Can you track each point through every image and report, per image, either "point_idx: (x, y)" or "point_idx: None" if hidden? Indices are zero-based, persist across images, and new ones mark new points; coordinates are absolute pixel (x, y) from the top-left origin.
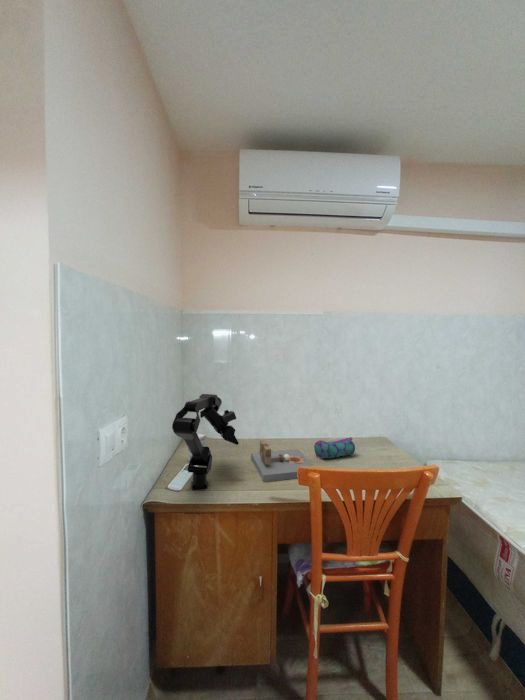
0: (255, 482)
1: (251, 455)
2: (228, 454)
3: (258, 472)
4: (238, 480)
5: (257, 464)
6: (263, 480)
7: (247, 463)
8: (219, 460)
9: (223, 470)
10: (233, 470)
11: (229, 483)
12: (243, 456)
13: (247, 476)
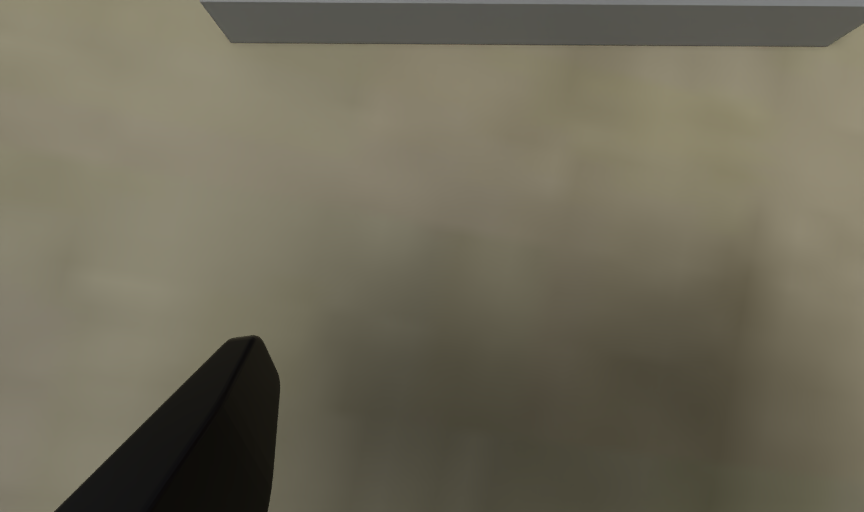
0: (819, 128)
1: (231, 17)
2: (24, 311)
3: (620, 42)
4: (747, 301)
5: (585, 5)
6: (841, 36)
7: (354, 116)
8: None
9: (478, 440)
10: (502, 318)
11: (795, 411)
12: (140, 123)
13: (676, 184)
